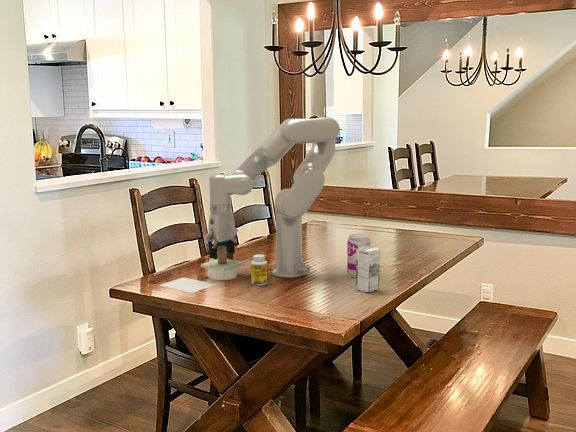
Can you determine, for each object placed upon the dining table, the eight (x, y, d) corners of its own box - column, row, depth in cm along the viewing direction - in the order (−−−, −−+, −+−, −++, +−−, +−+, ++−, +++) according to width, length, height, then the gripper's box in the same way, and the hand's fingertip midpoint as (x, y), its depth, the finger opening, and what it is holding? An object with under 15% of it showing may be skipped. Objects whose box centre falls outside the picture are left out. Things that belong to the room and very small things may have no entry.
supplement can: (355, 280, 218) (355, 239, 216) (343, 274, 226) (343, 234, 223) (374, 277, 222) (375, 236, 219) (361, 272, 229) (361, 232, 227)
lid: (243, 264, 224) (243, 245, 222) (224, 271, 215) (223, 251, 214) (221, 260, 230) (220, 242, 229) (200, 266, 221) (200, 247, 220)
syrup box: (366, 286, 210) (366, 245, 208) (379, 290, 206) (380, 248, 204) (355, 290, 206) (355, 248, 204) (368, 293, 202) (369, 250, 200)
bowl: (242, 276, 224) (241, 264, 223) (224, 283, 216) (223, 270, 215) (221, 272, 230) (221, 261, 229) (203, 279, 222) (202, 266, 221)
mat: (216, 285, 213) (216, 284, 213) (192, 294, 203) (192, 292, 203) (183, 279, 222) (183, 277, 222) (158, 287, 212) (158, 285, 212)
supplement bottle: (252, 286, 211) (252, 257, 210) (250, 282, 217) (249, 254, 215) (268, 285, 213) (268, 256, 211) (265, 281, 218) (265, 253, 216)
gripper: (212, 213, 210) (213, 262, 213) (244, 206, 224) (245, 252, 226) (196, 211, 214) (197, 259, 217) (228, 204, 228) (229, 249, 231)
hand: (222, 255), depth 222 cm, fingers open, 9 cm apart
